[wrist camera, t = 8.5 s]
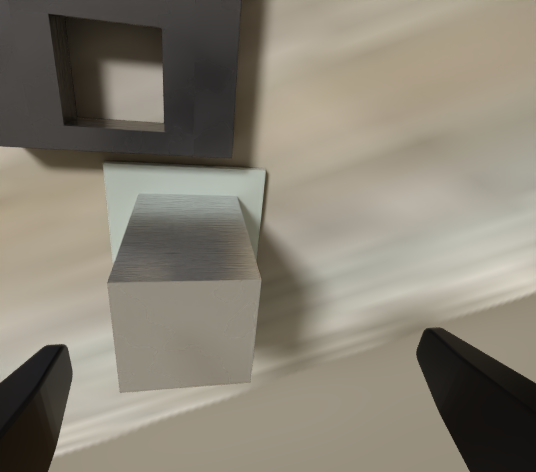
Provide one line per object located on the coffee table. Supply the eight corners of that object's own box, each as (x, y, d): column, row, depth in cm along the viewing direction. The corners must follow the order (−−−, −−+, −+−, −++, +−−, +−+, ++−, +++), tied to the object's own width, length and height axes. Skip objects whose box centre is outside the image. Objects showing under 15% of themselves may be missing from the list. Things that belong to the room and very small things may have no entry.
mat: (264, 168, 20) (265, 170, 19) (252, 291, 23) (253, 295, 23) (104, 160, 18) (102, 163, 18) (117, 294, 22) (116, 298, 21)
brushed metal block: (236, 195, 20) (261, 279, 13) (231, 274, 22) (250, 382, 15) (138, 193, 19) (107, 282, 12) (143, 276, 21) (119, 392, 14)
